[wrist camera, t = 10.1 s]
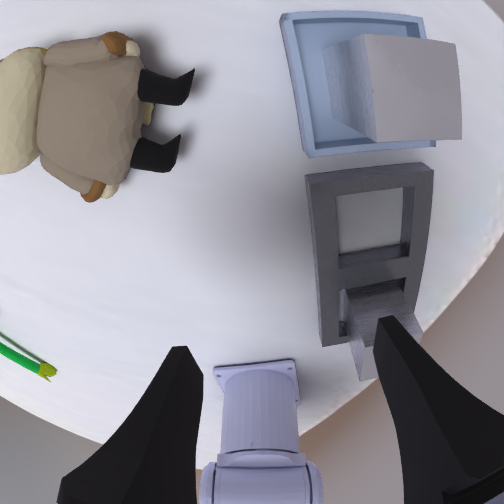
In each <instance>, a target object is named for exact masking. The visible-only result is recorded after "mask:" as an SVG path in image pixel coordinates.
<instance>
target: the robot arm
mask: <svg viewBox="0 0 504 504" xmlns="http://www.w3.org/2000/svg"><path fill="white" fill-rule="evenodd" d="M373 355H374V360H375V364H376V368H377V372H378V376H379V379H380V382H381V384H382V387H383V390H384V393H385V396H386V399H387V402H388V405H389V408H390V411H391V414H392V417H393V420H394V424H395V427H396V432H397V438H398V443H399V449H400V456H401V464H402V473H403V484H404V504H504V415H502V414H501V413H499V412H497V411H496V410H494V409H492V408H491V407H490V406H488V405H487V404H485V403H484V402H482V401H481V400H479V399H478V398H476V397H475V396H474V395H473V394H471V393H470V392H469V391H467V390H466V389H465V388H464V387H462V386H461V385H460V384H459V383H458V382H457V381H455V380H454V379H453V378H452V377H451V376H450V375H449V374H448V373H446V372H445V370H444V369H443V368H442V367H441V366H439V365H438V364H437V363H436V362H435V361H434V360H433V358H432V357H431V356H430V355H429V354H428V353H427V352H426V351H425V350H424V349H423V348H422V347H421V346H420V345H419V343H418V342H417V341H416V340H415V339H414V338H413V337H412V336H411V335H410V333H409V332H408V331H407V330H406V329H405V328H404V326H403V325H402V324H401V323H400V322H399V321H398V319H397V318H396V317H395V316H394V315H390V316H386V317H381V318H378V322H377V328H376V335H375V341H374V346H373ZM213 375H214V377H215V378H216V380H217V382H218V384H219V386H220V387H221V389H222V391H223V393H224V404H223V419H222V435H221V451H220V454H217V463H216V462H210V463H209V464H208V465H207V466H205V467H204V468H203V471H202V476H201V482H200V494H199V504H323V498H324V492H323V482H322V477H321V473H320V471H319V469H318V468H317V467H316V466H315V465H314V464H313V463H312V462H305V454H304V453H301V454H300V447H299V435H298V423H297V412H296V406H299V405H300V404H301V402H300V395H299V388H298V382H297V375H296V368H295V362H294V361H293V360H285V361H278V362H270V363H261V364H252V365H242V366H231V367H219V368H214V369H213ZM202 402H203V373H202V372H201V370H200V368H199V366H198V365H197V363H196V361H195V359H194V358H193V356H192V354H191V352H190V350H189V349H188V347H187V346H175V347H172V348H171V350H170V351H169V353H168V355H167V356H166V358H165V360H164V361H163V363H162V365H161V367H160V368H159V370H158V372H157V373H156V375H155V377H154V378H153V380H152V381H151V383H150V385H149V386H148V388H147V389H146V391H145V393H144V394H143V396H142V397H141V399H140V400H139V402H138V403H137V404H136V406H135V407H134V409H133V410H132V412H131V413H130V414H129V416H128V417H127V418H126V420H125V421H124V422H123V423H122V425H121V426H120V427H119V428H118V429H117V431H116V432H115V433H114V434H113V435H112V436H111V437H110V438H109V439H108V441H107V442H106V443H105V444H104V445H103V446H102V447H101V448H100V449H99V450H98V451H96V452H95V453H94V454H93V455H92V456H91V457H90V458H88V459H87V460H86V461H85V462H84V463H83V464H81V465H80V466H79V467H77V468H76V469H74V470H73V471H72V472H70V473H69V474H67V475H66V476H65V477H63V478H62V480H61V484H60V489H59V493H58V498H57V503H58V504H197V498H196V475H195V474H196V473H195V468H196V444H197V437H198V430H199V423H200V416H201V409H202Z"/></svg>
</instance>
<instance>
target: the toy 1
mask: <svg viewBox="0 0 504 504" xmlns="http://www.w3.org/2000/svg"><path fill="white" fill-rule="evenodd" d="M0 353H1V354H2V355H4V356H6V357H7V358H9V359H11V360H12V361H14V362H16V363H18V364H19V365H21V366H23V367H25V368H27V369H29V370H31V371H33V372H34V373H36V374H38V375H39V376H41V377H43V378H45V379H46V380H48V381H50V380H49V379H48V378H47V377H46V376H49V377H51V376H54V375H56V370H55V368H54V367H52V366H51V365H49V364H48V363H41V364H38V363H36V362H34V361H32V360H31V359H29V358H27V357H25V356H23V355H21V354H19V353H18V352H16V351H14V350H12V349H11V348H9V347H7V346H6V345H4V344H2V343H1V342H0ZM50 382H51V381H50Z"/></svg>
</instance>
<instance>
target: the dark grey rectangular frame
mask: <svg viewBox="0 0 504 504" xmlns="http://www.w3.org/2000/svg"><path fill="white" fill-rule="evenodd" d="M433 177H434V170H432V169H431V168H429V167H428V166H426V165H425V164H423V163H422V162H421V163H408V164H396V165H386V166H376V167H367V168H358V169H349V170H341V171H333V172H326V173H319V174H312V175H305V180H306V188H307V196H308V205H309V213H310V222H311V232H312V242H313V252H314V264H315V276H316V289H317V303H318V319H319V334H320V339H321V344H322V347H326V346H331V345H337V344H342V343H347V342H349V340H348V336H347V333H346V329H345V326H344V323H343V322H340V323H339V290H342V289H348V288H353V287H358V286H364V285H369V284H374V283H379V282H384V281H389V280H394V279H396V282H397V284H398V286H399V287H400V289H401V291H402V293H403V295H404V296H405V298H406V300H407V302H408V304H409V306H410V308H411V310H412V311H413V313H414V309H415V305H416V301H417V296H418V292H419V287H420V282H421V277H422V272H423V266H424V260H425V254H426V248H427V241H428V233H429V225H430V216H431V206H432V193H433ZM400 187H404V191H403V215H402V230H401V242H400V244H399V245H394V246H388V247H382V248H377V249H371V250H365V251H359V252H353V253H347V254H342V255H338V231H337V214H336V199H335V196H338V195H346V194H353V193H360V192H368V191H376V190H384V189H392V188H400Z"/></svg>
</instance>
